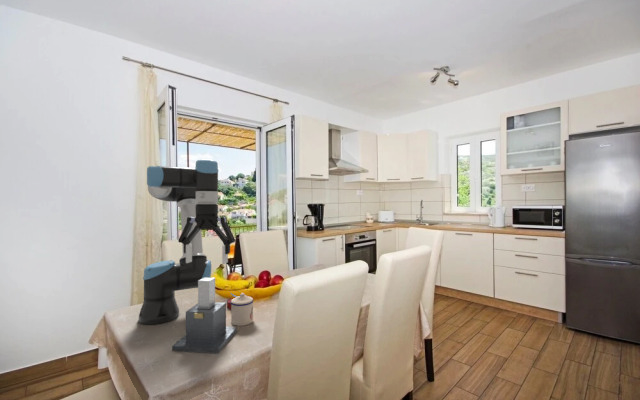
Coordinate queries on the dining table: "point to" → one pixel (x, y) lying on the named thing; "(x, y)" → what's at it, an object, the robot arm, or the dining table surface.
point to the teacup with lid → (242, 310)
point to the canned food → (230, 301)
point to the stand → (205, 330)
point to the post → (206, 293)
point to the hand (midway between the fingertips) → (206, 262)
